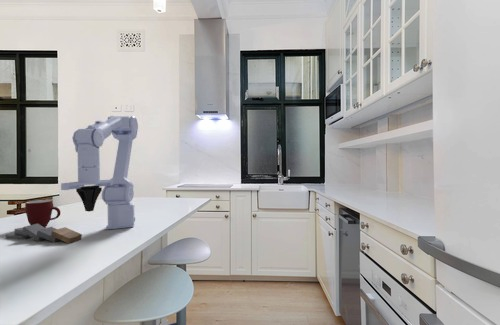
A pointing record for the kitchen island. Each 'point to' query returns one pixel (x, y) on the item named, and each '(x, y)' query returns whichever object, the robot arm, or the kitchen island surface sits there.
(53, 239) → the domino
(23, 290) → the kitchen island surface
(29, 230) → the domino
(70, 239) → the domino
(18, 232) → the domino
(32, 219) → the mug
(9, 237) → the domino
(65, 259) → the kitchen island surface
